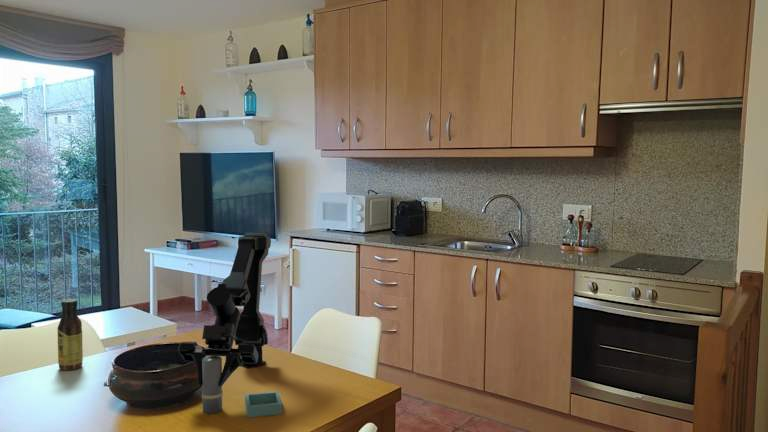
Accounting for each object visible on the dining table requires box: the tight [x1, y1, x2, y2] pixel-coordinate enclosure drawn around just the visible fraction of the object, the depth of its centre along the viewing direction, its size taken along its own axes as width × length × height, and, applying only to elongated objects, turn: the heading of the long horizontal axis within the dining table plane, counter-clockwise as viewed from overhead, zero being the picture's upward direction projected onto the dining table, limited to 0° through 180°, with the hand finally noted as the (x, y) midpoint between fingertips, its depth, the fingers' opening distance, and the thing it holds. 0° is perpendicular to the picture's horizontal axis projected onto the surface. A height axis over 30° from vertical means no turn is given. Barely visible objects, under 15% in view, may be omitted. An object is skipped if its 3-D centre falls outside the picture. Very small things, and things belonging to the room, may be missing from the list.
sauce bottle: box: [56, 298, 84, 371], centre depth 166 cm, size 6×6×20 cm
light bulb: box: [201, 356, 224, 415], centre depth 138 cm, size 5×5×12 cm
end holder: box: [244, 390, 283, 418], centre depth 140 cm, size 8×8×2 cm
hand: (210, 385), depth 137 cm, fingers closed on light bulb, 4 cm apart
